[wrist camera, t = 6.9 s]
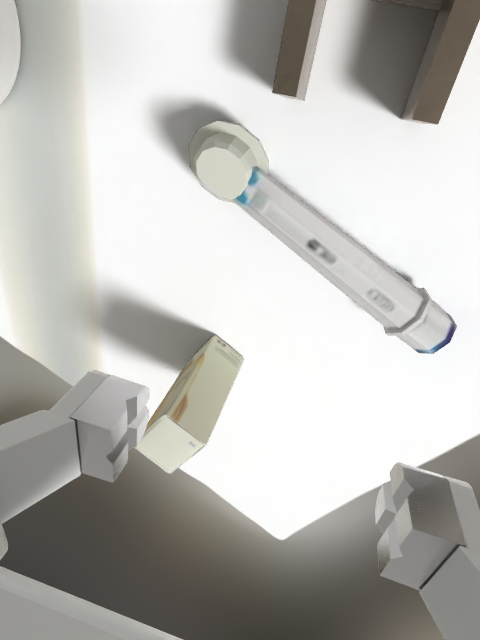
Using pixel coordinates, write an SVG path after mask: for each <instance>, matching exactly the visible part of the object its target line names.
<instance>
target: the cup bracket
mask: <svg viewBox="0 0 480 640" xmlns="http://www.w3.org/2000/svg"><path fill="white" fill-rule="evenodd" d="M373 1H380V2H386V3H393V4H400V5H406V6H413V7H420V8H426V9H433V10H439V12H438V15H437V18H436V21H435V24H434V27H433V30H432V33H431V35H430V38H429V41H428V44H427V47H426V50H425V53H424V55H423V58H422V61H421V64H420V67H419V70H418V73H417V75H416V78H415V81H414V84H413V87H412V90H411V93H410V96H409V98H408V101H407V104H406V107H405V110H404V113H403V116H402V118H401V119H402V120H408V121H413V122H418V123H423V124H438V123H439V120H440V118H441V115H442V113H443V110H444V108H445V105H446V103H447V100H448V98H449V95H450V93H451V90H452V88H453V85H454V83H455V80H456V78H457V75H458V73H459V70H460V67H461V65H462V62H463V60H464V57H465V55H466V52H467V50H468V47H469V45H470V42H471V40H472V37H473V35H474V32H475V30H476V27H477V25H478V22H479V20H480V0H373ZM325 4H326V0H289V3H288V9H287V14H286V20H285V25H284V31H283V36H282V42H281V47H280V53H279V58H278V64H277V69H276V75H275V80H274V86H273V91H272V93H275V94H278V95H281V96H284V97H288V98H293V99H299V100H304V99H305V95H306V90H307V86H308V81H309V77H310V72H311V68H312V63H313V59H314V54H315V50H316V45H317V40H318V36H319V31H320V27H321V22H322V18H323V13H324V9H325Z"/></svg>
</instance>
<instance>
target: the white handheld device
mask: <svg viewBox="0 0 480 640" xmlns="http://www.w3.org/2000/svg"><path fill="white" fill-rule="evenodd" d="M189 155H190V167H191V169H192V171H193V173H194V174H195V176H196V178H197V180H198V181H199V183H200V185H201V186H202V187H203V188H204V189H206V190H207V191H208V192H210V193H211V194H212V195H214V196H215V197H216V198H217V199H219V200H223V201H228V202H233V203H236V204H237V205H239V206H240V207H241V208H242V209H243V210H245V211H246V212H247V213H248V214H250V215H251V216H252V217H253V218H254V219H256V220H257V221H258V222H259V223H260V224H262V225H263V226H264V227H265V228H266V229H268V230H269V231H270V232H271V233H272V234H274V235H275V236H276V237H277V238H278V239H280V240H281V241H282V242H283V243H284V244H286V245H287V246H288V247H289V248H290V249H292V250H293V251H294V252H295V253H296V254H298V255H299V256H300V257H301V258H302V259H304V260H305V261H306V262H307V263H308V264H310V265H311V266H312V267H313V268H314V269H316V270H317V271H318V272H319V273H321V274H322V275H323V276H324V277H325V278H327V279H328V280H329V281H330V282H331V283H333V284H334V285H335V286H336V287H337V288H339V289H340V290H341V291H342V292H343V293H345V294H346V295H347V296H348V297H349V298H351V299H352V300H353V301H354V302H355V303H357V304H358V305H359V306H360V307H361V308H363V309H364V310H365V311H366V312H367V313H369V314H370V315H371V316H372V317H373V318H375V319H376V320H377V321H378V322H379V323H381V324H382V325H383V327H384V330H385V333H386V334H387V335H396V336H397V337H398V338H400V339H401V340H402V341H404V342H405V343H406V344H408V345H409V346H410V347H412V348H413V349H414V350H416V351H417V352H418V353H431V354H433V353H435V352H436V351H438V350H439V349H441V348H442V347H444V346H445V345H447V344H448V343H450V341H451V338H452V336H453V334H454V332H455V330H456V327H457V325H456V324H455V322H454V321H453V319H452V317H451V316H450V315H449V314H448V313H446V312H445V311H444V310H443V309H441V308H440V307H439V306H438V305H437V304H435V303H434V302H433V301H432V299H431V298H430V296H429V294H428V292H427V291H426V290H425V289H424V288H420V289H417V288H415V287H414V286H413V285H411V284H410V283H409V282H407V281H406V280H405V279H404V278H402V277H401V276H400V275H398V274H397V273H396V272H394V271H393V270H392V269H390V268H389V267H388V266H387V265H385V264H384V263H383V262H381V261H380V260H379V259H377V258H376V257H375V256H373V255H372V254H371V253H369V252H368V251H367V250H366V249H364V248H363V247H362V246H360V245H359V244H358V243H356V242H355V241H354V240H352V239H351V238H350V237H349V236H347V235H346V234H345V233H343V232H342V231H341V230H339V229H338V228H337V227H335V226H334V225H333V224H332V223H330V222H329V221H328V220H326V219H325V218H324V217H322V216H321V215H320V214H318V213H317V212H316V211H315V210H313V209H312V208H311V207H309V206H308V205H307V204H305V203H304V202H303V201H301V200H300V199H299V198H298V197H296V196H295V195H294V194H292V193H291V192H290V191H288V190H287V189H286V188H284V187H283V186H282V185H281V184H279V183H278V182H277V181H275V180H274V179H273V178H271V177H270V176H269V175H268V170H269V160H268V158H267V156H266V153H265V151H264V149H263V147H262V145H261V143H260V141H259V139H258V138H256V137H255V136H254V135H253V134H252V133H250V132H249V131H248V130H247V129H245V128H244V127H243V126H242V125H240V124H236V123H231V122H226V121H221V120H218V121H215V122H213V123H210V124H208V125H206V126H203V127H201V128H199V129H198V131H197V132H196V134H195V136H194V138H193V139H192V141H191V143H190V145H189Z"/></svg>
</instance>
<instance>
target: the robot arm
mask: <svg viewBox="0 0 480 640" xmlns="http://www.w3.org/2000/svg"><path fill="white" fill-rule="evenodd" d="M20 50H21V40H20V27H19V19H18V14H17V9H16V5H15V0H0V104H1V103H2V102H3V101H4V100H5V99H6V97H7V96H8V94H9V93H10V91H11V89H12V87H13V85H14V82H15V79H16V76H17V73H18V68H19V62H20ZM148 400H149V388H148V387H146V386H143V385H140V384H137V383H134V382H131V381H128V380H125V379H122V378H119V377H116V376H113V375H109V374H106V373H103V372H100V371H97V370H93V371H90V372H88V373H87V374H86V375H85V376H84V377H83V378H82V379H81V380H80V381H79V382H78V383H77V384H76V385H75V386H74V387H73V388H72V389H71V390H70V391H69V392H68V393H67V394H66V395H64V396H63V397H62V398H61V399H60V400H59V401H58V402H57V403H56V404H55V405H54V406H53V407H52V408H51V409H50V410H49V411H46V410H40V411H38V412H35V413H32V414H30V415H27V416H24V417H21V418H19V419H16V420H13V421H10V422H8V423H5V424H2V425H0V560H1V558H2V557H3V555H4V554H5V553H6V551H7V550H8V542H7V539H6V536H5V533H4V530H3V527H2V523H3V522H5V521H7V520H8V519H10V518H12V517H13V516H15V515H17V514H18V513H20V512H21V511H23V510H25V509H26V508H28V507H29V506H31V505H33V504H34V503H36V502H38V501H39V500H41V499H42V498H44V497H46V496H47V495H49V494H51V493H52V492H54V491H55V490H57V489H59V488H60V487H62V486H63V485H65V484H67V483H68V482H70V481H72V480H73V479H75V478H76V477H78V476H80V475H81V473H84V474H87V475H90V476H94V477H97V478H100V479H103V480H106V481H110V482H114V481H115V479H116V478H117V476H118V475H119V473H120V472H121V470H122V469H123V467H124V466H125V464H126V463H127V461H128V450H131V449H133V448H135V447H137V445H138V444H139V442H140V440H141V439H142V437H143V435H144V432H145V430H146V427H147V423H148V419H149V410H148V409H147V407H146V406H145V404H146V402H147V401H148ZM390 477H391V481H390V482H388V483H385V484H383V485H382V488H381V489H380V491H379V493H378V498H377V501H376V508H375V520H376V526H377V528H378V529H379V531H380V532H381V534H382V537H381V539H380V541H379V542H378V544H377V549H378V562H379V575H380V576H383V577H385V578H388V579H391V580H394V581H396V582H399V583H401V584H404V585H407V586H409V587H412V588H415V589H417V590H420V592H419V593H420V595H421V597H422V599H423V601H424V602H425V604H426V606H427V608H428V610H429V612H430V614H431V615H432V617H433V619H434V621H435V623H436V625H437V627H438V628H439V630H440V632H441V634H442V636H443V638H444V639H445V640H480V510H479V507H478V504H477V501H476V499H475V496H474V493H473V490H472V488H471V486H470V485H469V484H468V483H467V482H463V481H460V480H457V479H453V478H450V477H446V476H442V475H440V474H436V473H433V472H429V471H426V470H422V469H419V468H416V467H412V466H409V465H405V464H402V463H399V462H398V463H397V464H395V465H394V466H393V468H392V470H391V471H390ZM0 640H182V639H180V638H177V637H175V636H172V635H170V634H167V633H165V632H162V631H160V630H157V629H155V628H152V627H150V626H147V625H145V624H142V623H140V622H138V621H135V620H132V619H130V618H127V617H125V616H122V615H120V614H118V613H115V612H113V611H110V610H107V609H105V608H103V607H100V606H98V605H95V604H93V603H90V602H88V601H85V600H83V599H80V598H78V597H75V596H73V595H70V594H68V593H65V592H63V591H60V590H58V589H55V588H53V587H51V586H48V585H46V584H43V583H41V582H38V581H36V580H33V579H31V578H28V577H26V576H23V575H21V574H18V573H15V572H13V571H11V570H8V569H6V568H3V567H1V566H0Z"/></svg>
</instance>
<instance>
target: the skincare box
mask: <svg viewBox="0 0 480 640" xmlns="http://www.w3.org/2000/svg"><path fill="white" fill-rule="evenodd" d="M243 361H244V358H243V357H242V356H240V355H239V354H238V353H237V352H236V351H235V350H233V349H232V348H231V347H230V346H229V345H227V344H226V343H225V342H224V341H222V340H221V339H220V338H218V337H217V336H216V335H214V336H213V337H212V338H211V339H209V340H208V341H207V342H206V343H205V344H204V345H203V346H202V347H201V348H200V349H199V351H198V352H197V353H196V354H195V355H194V356H193V357H192V358H191V360H190V361H189V362H188V363H187V364H186V365H185V367H184V368H183V370H182V372H181V373H180V374H179V376H178V378H177V379H176V381H175V382H174V384H173V385H172V387H171V388H170V390H169V391H168V393H167V395H166V396H165V398H164V399H163V401H162V402H161V404H160V405H159V407H158V408H157V410H156V411H155V413H154V414H153V416H152V417H151V419H150V420H149V422H148V423H147V427H146V430H145V432H144V435H143V437H142V439H141V440H140V442H139V444H138V445H137V447H135V448H136V449H137V450H138V451H140V452H141V453H142V454H143V455H145V456H146V457H147V458H149V459H150V460H151V461H153V462H154V463H155V464H157V465H158V466H159V467H160V468H162V469H163V470H165V471H166V472H167V473H172V472H173V471H174V470H176V469H177V468H178V467H180V466H181V465H182V464H184V463H185V462H187V461H188V460H189V459H190V458H191V457H192V456H194V455H195V454H196V453H198V452H199V451H200V450H201V449H203V448H204V447H205V446H206V445H207V442H208V440H209V438H210V436H211V433H212V431H213V429H214V427H215V424H216V422H217V420H218V418H219V415H220V413H221V411H222V408H223V406H224V404H225V402H226V399H227V397H228V395H229V393H230V390H231V388H232V386H233V383H234V381H235V379H236V377H237V374H238V372H239V370H240V368H241V365H242V363H243Z"/></svg>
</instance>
